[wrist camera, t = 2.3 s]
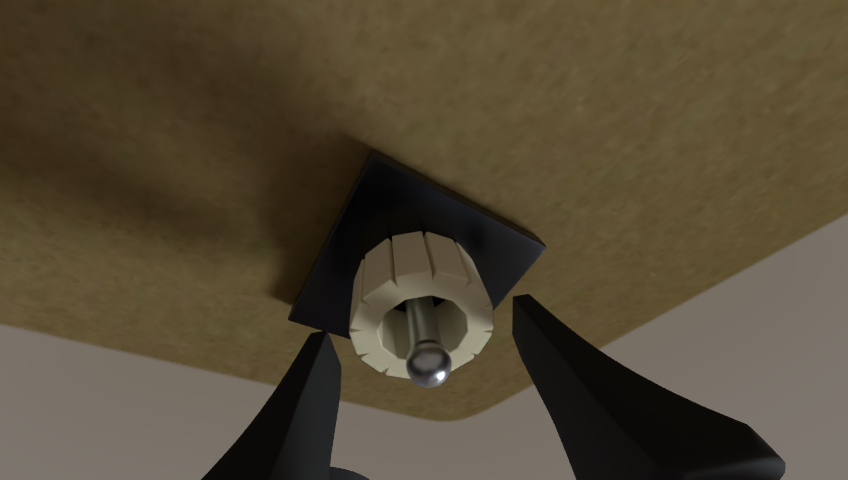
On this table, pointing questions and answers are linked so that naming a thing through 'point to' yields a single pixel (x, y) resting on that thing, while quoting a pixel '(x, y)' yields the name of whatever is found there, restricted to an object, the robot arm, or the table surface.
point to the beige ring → (411, 278)
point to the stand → (400, 214)
